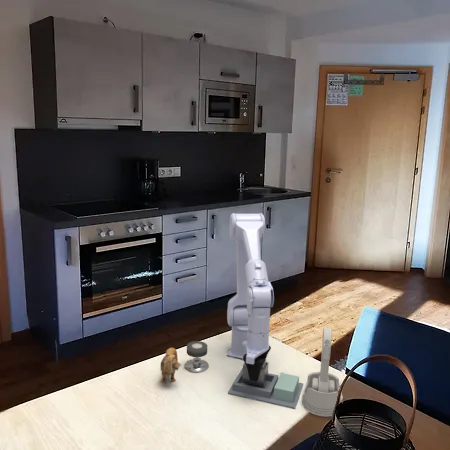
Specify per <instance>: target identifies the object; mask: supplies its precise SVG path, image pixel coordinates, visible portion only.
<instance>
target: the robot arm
mask: <svg viewBox="0 0 450 450" xmlns="http://www.w3.org/2000/svg"><path fill="white" fill-rule="evenodd" d="M228 228H229V240H230V241H234V242H235V245H236V294H234V296H232V297H231V298H230V299H229V300H228V302H227V311H226V316H227V317H226V319H227V324H228V326H229V327H231V339H230V340H231V343H230V344H231V346H230V348H229V350H228V351H227V352H226V356H228V357H231V358H232V357H233V358H238V359H242V361H243V364H244V363H245V364H246V367H247V370H248V375H249V379H250V380H251V381H256V382H257V381H258V378H259V374H260V369H261V366H262V364H263V362H264V360H266V361H267V357H268V354H269V353H270V352H271V349H272V347H271V345H270V344H269V342H270V341H269V339H270V323H271V322H270V320H271V308H273V306H274V304H275V303H274V302H275V296H274V295H275V294H274V288H273V285H272V284H271V281H269V277H268V270H267V266H266V265H267V264H266V263H265V262H264V261H263V260H261V259H262V258H261V244H260V239H262V237H263V235H264V232H265V229H266V219H265V216H264V214H263V213H261V212H260V213H235V212H233V213H231V214H230V216H229V227H228Z"/></svg>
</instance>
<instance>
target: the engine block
mask: <svg viewBox="0 0 450 450" xmlns="http://www.w3.org/2000/svg"><path fill="white" fill-rule="evenodd" d="M242 368H243V374H242V383H247V384H252V385H256V386H261V387H264V385H265V383H266V381H267V379H268V373H269V362H268V361H267V359H266V360H264V362H263V364H262V366H261V369H260V374H259V378H258V381H257V382H256V381H251V380H250V379H249V375H248V370H247V367H246V364H245V363H244V362H243V365H242Z"/></svg>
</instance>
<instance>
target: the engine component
mask: <svg viewBox="0 0 450 450" xmlns="http://www.w3.org/2000/svg"><path fill="white" fill-rule="evenodd" d="M332 333H333V332H332V327H325V326H324V327H323V329H322V340H321V341H322V342H321V357H320V359H321V361H320V371H312V372H310V373H309V374H308V375H307V380H306V382H305V385H304V386H303V388H302V398H301V405H302V406H303V408H304V409H305V410H306V411H308V412H309V413H311V414H313V415H315V416H319V417H333V416H332V413H333V410H334V407H335V404H336V401H337V396H338V391H339V389H340V390H341V387H340V380H339V377H338V376H337V375H335V374H333V373H329V369H330V368H329V367H330V359H331V351H332V349H331V348H332ZM343 399H344V398H343V393H342V392H341V396H340V402H342V403H343Z"/></svg>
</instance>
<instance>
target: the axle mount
mask: <svg viewBox="0 0 450 450" xmlns="http://www.w3.org/2000/svg"><path fill="white" fill-rule="evenodd" d="M209 367H210V365H209V363H208V361H206V360H204V359H202V357H192V359H189V360H187V361H185V364H184V369H185V370H186V371H187V372H190V373H198V374H199V373H203V372H205V371H207V370H208V369H209Z"/></svg>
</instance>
